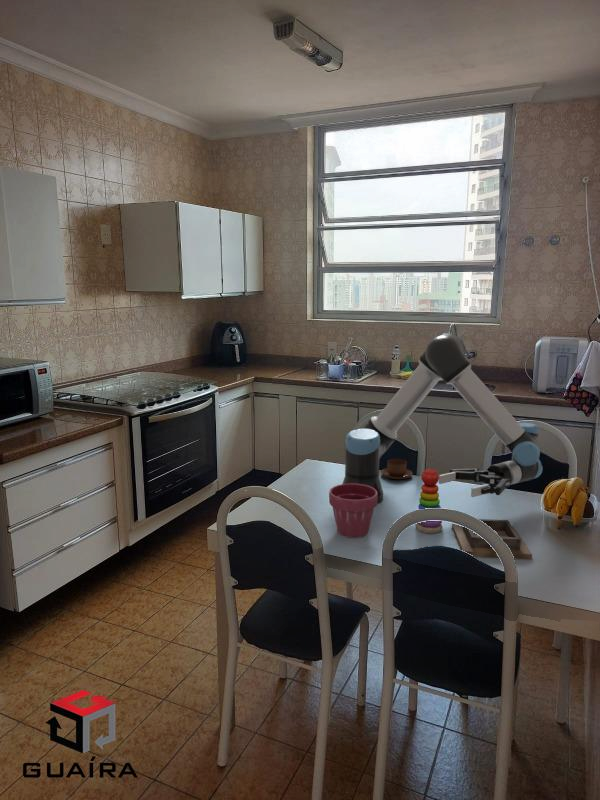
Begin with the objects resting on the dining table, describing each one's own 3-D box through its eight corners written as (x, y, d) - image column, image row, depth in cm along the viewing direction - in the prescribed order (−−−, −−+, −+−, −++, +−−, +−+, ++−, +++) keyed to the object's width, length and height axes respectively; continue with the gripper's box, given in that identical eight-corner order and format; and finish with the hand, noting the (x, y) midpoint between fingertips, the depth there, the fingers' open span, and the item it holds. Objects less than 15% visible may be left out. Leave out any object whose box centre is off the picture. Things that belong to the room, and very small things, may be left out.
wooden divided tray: (463, 556, 150) (464, 540, 149) (451, 528, 168) (452, 514, 167) (531, 559, 148) (533, 543, 147) (513, 531, 166) (514, 517, 165)
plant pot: (320, 534, 163) (320, 493, 161) (342, 518, 175) (342, 480, 173) (364, 546, 156) (365, 503, 153) (384, 528, 168) (385, 488, 165)
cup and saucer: (386, 470, 223) (386, 455, 222) (415, 474, 218) (416, 459, 217) (377, 478, 213) (377, 463, 212) (407, 483, 208) (408, 467, 207)
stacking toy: (444, 526, 169) (447, 467, 166) (439, 536, 162) (442, 475, 158) (418, 522, 172) (421, 464, 169) (412, 531, 165) (415, 472, 162)
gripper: (535, 497, 170) (486, 510, 160) (473, 475, 191) (426, 485, 181) (536, 473, 168) (487, 486, 158) (474, 454, 190) (427, 463, 180)
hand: (455, 485), depth 170 cm, fingers open, 13 cm apart
